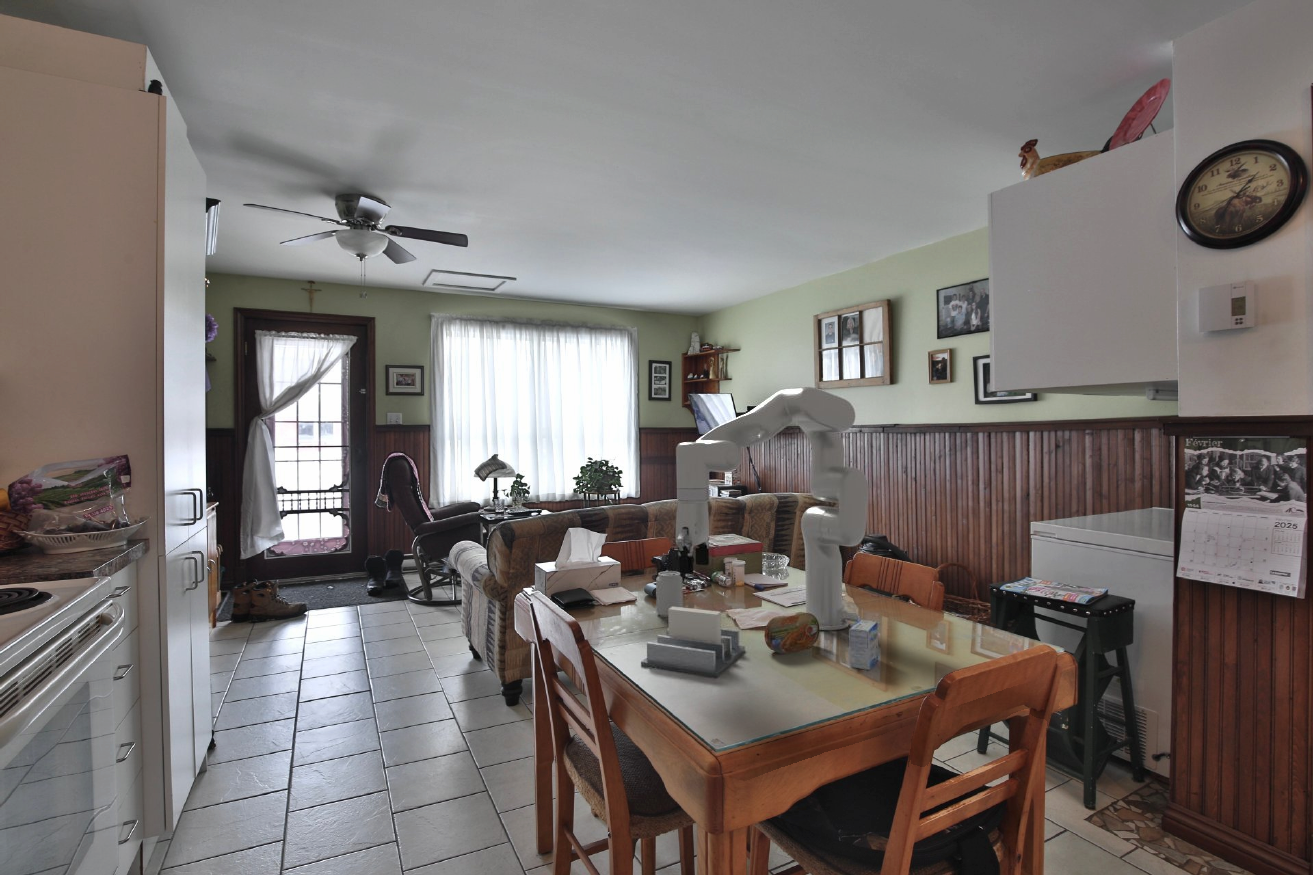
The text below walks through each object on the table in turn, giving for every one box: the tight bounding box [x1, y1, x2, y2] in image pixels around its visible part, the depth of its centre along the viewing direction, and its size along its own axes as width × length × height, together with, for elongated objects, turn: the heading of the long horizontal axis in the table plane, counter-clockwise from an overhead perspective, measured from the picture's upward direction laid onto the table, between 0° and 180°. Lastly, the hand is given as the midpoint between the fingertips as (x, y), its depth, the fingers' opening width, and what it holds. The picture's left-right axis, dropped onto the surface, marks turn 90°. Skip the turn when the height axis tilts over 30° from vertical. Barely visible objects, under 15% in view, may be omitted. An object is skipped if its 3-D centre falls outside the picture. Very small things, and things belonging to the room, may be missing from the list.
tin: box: [764, 611, 821, 655], centre depth 155 cm, size 15×3×8 cm, turn 117°
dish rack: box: [640, 627, 746, 680], centre depth 150 cm, size 18×19×5 cm
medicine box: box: [848, 619, 879, 671], centre depth 145 cm, size 8×4×9 cm, turn 148°
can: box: [655, 570, 684, 618], centre depth 186 cm, size 8×8×12 cm
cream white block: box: [667, 607, 722, 643], centre depth 150 cm, size 2×12×10 cm, turn 65°
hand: (694, 568), depth 151 cm, fingers open, 9 cm apart
